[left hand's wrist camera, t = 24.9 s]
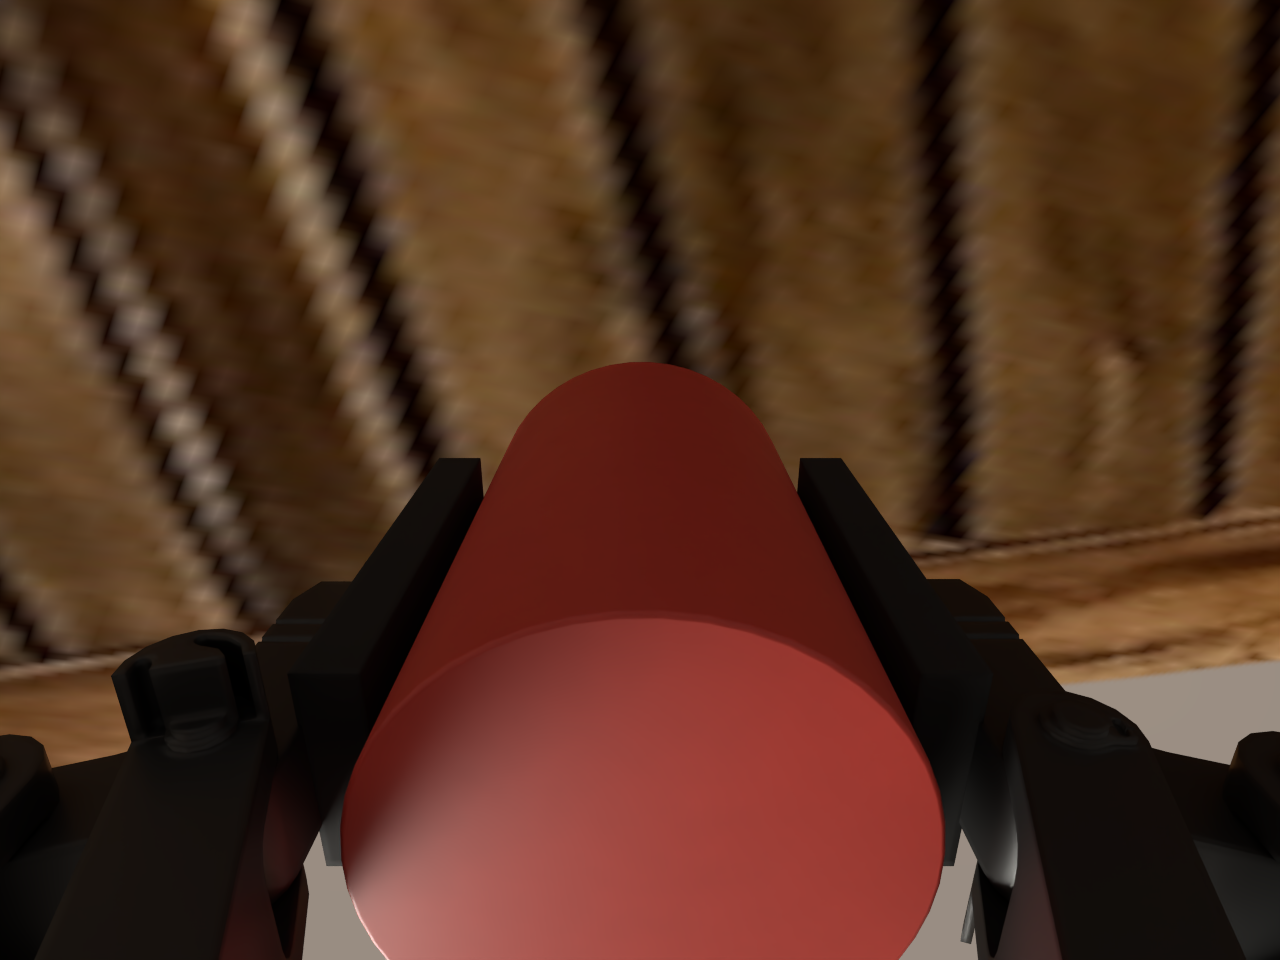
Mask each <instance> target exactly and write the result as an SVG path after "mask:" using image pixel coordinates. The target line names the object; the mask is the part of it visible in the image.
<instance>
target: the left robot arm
mask: <svg viewBox="0 0 1280 960" xmlns="http://www.w3.org/2000/svg"><path fill="white" fill-rule="evenodd" d="M797 494H798V496H799V498H800V500H801V502H802V504H803V506H804V508H805V510H806V512H807V514H808V516H809V518H810V520H811V522H812V524H813V526H814V528H815V530H816V532H817V534H818V536H819V538H820V540H821V542H822V544H823V546H824V548H825V550H826V552H827V554H828V556H829V558H830V560H831V562H832V565H833V567H834V569H835V571H836V573H837V575H838V577H839V579H840V581H841V583H842V585H843V587H844V589H845V591H846V593H847V595H848V597H849V599H850V601H851V603H852V605H853V607H854V609H855V611H856V613H857V615H858V617H859V619H860V621H861V623H862V625H863V627H864V629H865V631H866V633H867V635H868V638H869V640H870V642H871V644H872V646H873V648H874V650H875V652H876V654H877V656H878V658H879V660H880V662H881V664H882V666H883V668H884V670H885V672H886V674H887V676H888V678H889V680H890V682H891V684H892V686H893V688H894V690H895V692H896V694H897V696H898V698H899V700H900V702H901V704H902V706H903V708H904V711H905V713H906V715H907V717H908V719H909V721H910V723H911V725H912V727H913V729H914V731H915V733H916V735H917V737H918V739H919V741H920V743H921V745H922V747H923V749H924V751H925V753H926V755H927V757H928V759H929V761H930V764H931V767H932V770H933V772H934V775H935V778H936V781H937V783H938V786H939V789H940V793H941V798H942V804H943V810H944V816H945V857H944V863H943V866H954V863H955V858H956V853H957V848H958V843H959V839H960V833H961V829H963V831H964V834H965V836H966V837H967V839H968V842H969V844H970V846H971V848H972V850H973V852H974V854H975V856H976V858H977V865H976V870H975V874H974V878H973V883H972V888H971V892H970V897H969V901H968V906H967V910H966V915H965V919H964V924H963V930H962V936H961V942H965V943H969V944H971V942H972V937H973V933H974V928H975V934H976V944H977V953H978V960H1280V732H1275V731H1269V732H1259V733H1251V734H1249V735H1248V736H1246V737H1245V738H1243V739H1242V740H1241V741H1239V742H1238V745H1237V748H1236V750H1235V753H1234V756H1233V759H1232V761H1231V764H1230V765H1227V764H1222V763H1217V762H1213V761H1208V760H1203V759H1198V758H1193V757H1189V756H1184V755H1179V754H1174V753H1169V752H1165V751H1161V750H1158V749H1154V748H1152V747H1151V745H1150V743H1149V741H1148V740H1147V738H1146V737H1145V736H1144V734H1143V733H1142V732H1141V730H1140V729H1139V728H1138V726H1137V725H1136V724H1135V723H1133V722H1132V721H1131V720H1129V719H1128V718H1127V717H1125V716H1124V715H1123V714H1121V713H1120V712H1119V711H1117V710H1116V709H1114V708H1111V707H1109V706H1107V705H1105V704H1103V703H1101V702H1099V701H1096V700H1094V699H1092V698H1089V697H1085V696H1081V695H1078V694H1074V693H1070V692H1066V691H1065V690H1064V689H1063V688H1062V686H1061V685H1060V684H1059V683H1058V682H1057V680H1056V679H1055V678H1054V677H1053V675H1052V674H1051V673H1050V672H1049V671H1048V669H1047V668H1046V667H1045V666H1044V665H1043V663H1042V662H1041V661H1040V660H1039V658H1038V657H1037V656H1036V655H1035V654H1034V652H1033V651H1032V650H1031V649H1030V647H1029V646H1028V645H1027V644H1026V643H1025V641H1024V640H1023V639H1019V634H1018V633H1017V632H1016V630H1015V629H1014V628H1013V627H1012V626H1011V624H1010V623H1009V622H1005V617H1004V616H1003V615H1002V613H1001V612H1000V611H999V610H998V609H997V607H996V606H995V605H994V604H993V602H992V601H991V600H990V599H989V598H988V597H987V596H986V595H984V594H982V593H981V592H979V591H978V590H976V589H974V588H973V587H971V586H970V585H968V584H966V583H965V582H963V581H962V580H960V579H926V578H925V576H924V575H923V573H922V572H921V570H920V569H919V568H918V566H917V565H916V563H915V562H914V561H913V559H912V558H911V556H910V555H909V554H908V552H907V551H906V549H905V548H904V546H903V545H902V544H901V542H900V541H899V539H898V538H897V537H896V535H895V534H894V532H893V531H892V529H891V528H890V527H889V525H888V524H887V522H886V521H885V520H884V518H883V517H882V515H881V514H880V512H879V511H878V510H877V508H876V507H875V505H874V504H873V503H872V501H871V500H870V498H869V497H868V496H867V494H866V493H865V491H864V490H863V488H862V487H861V486H860V484H859V483H858V481H857V480H856V479H855V477H854V476H853V474H852V473H851V471H850V470H849V469H848V467H847V466H846V464H845V463H844V462H843V460H842V459H841V458H800V466H799V478H798V490H797ZM483 498H484V496H483V484H482V472H481V460H480V458H439V459H438V461H437V462H436V464H435V465H434V466H433V468H432V469H431V471H430V472H429V474H428V475H427V476H426V478H425V479H424V481H423V482H422V483H421V485H420V486H419V488H418V489H417V491H416V492H415V493H414V495H413V496H412V498H411V499H410V500H409V502H408V503H407V505H406V506H405V508H404V509H403V510H402V512H401V513H400V515H399V516H398V517H397V519H396V520H395V522H394V523H393V525H392V526H391V527H390V529H389V530H388V532H387V533H386V534H385V536H384V537H383V539H382V540H381V541H380V543H379V544H378V546H377V547H376V549H375V550H374V551H373V553H372V554H371V556H370V557H369V558H368V560H367V561H366V563H365V564H364V566H363V567H362V568H361V570H360V571H359V573H358V574H357V575H356V577H355V578H354V580H353V581H352V582H320V583H318V584H317V585H315V586H314V587H312V588H310V589H309V590H307V591H306V592H304V593H302V594H301V595H299V596H298V597H296V598H294V599H293V600H292V601H291V603H290V604H289V605H288V606H287V607H286V609H285V610H284V611H283V612H282V614H281V615H280V616H279V617H278V619H277V620H276V624H273V625H272V626H271V627H270V628H269V630H268V631H267V632H266V633H265V634H264V636H263V637H262V642H258V643H257V644H256V645H255V643H254V640H252V639H251V638H250V637H248V636H247V635H245V634H244V633H243V632H238V631H233V630H227V629H210V630H197V631H193V632H189V633H184V634H180V635H176V636H172V637H169V638H167V639H164V640H162V641H159V642H157V643H155V644H152V645H150V646H147V647H145V648H144V649H142V650H141V651H139V652H137V653H136V654H134V655H133V656H131V657H130V658H128V659H126V660H125V661H124V662H123V663H122V664H121V665H120V666H119V668H118V669H117V670H116V671H115V672H114V673H113V674H112V675H111V677H112V680H113V684H114V687H115V690H116V693H117V697H118V700H119V703H120V706H121V710H122V713H123V716H124V719H125V723H126V726H127V729H128V732H129V736H130V739H131V744H130V747H129V749H128V751H127V752H124V753H120V754H117V755H112V756H108V757H103V758H98V759H93V760H88V761H84V762H79V763H74V764H69V765H64V766H60V767H55V768H51V765H50V762H49V760H48V757H47V754H46V751H45V749H44V746H43V745H42V744H41V743H39V742H38V741H37V740H35V739H34V738H32V737H30V736H20V735H10V734H9V735H2V736H0V960H302V955H303V945H304V936H305V927H306V917H307V908H308V899H309V891H308V885H307V879H306V874H305V869H304V865H303V863H304V861H305V859H306V857H307V855H308V853H309V851H310V849H311V847H312V845H313V842H314V840H315V838H316V836H317V834H318V832H319V831H320V836H321V841H322V846H323V851H324V856H325V860H326V865H327V866H342V861H341V840H340V823H341V816H342V809H343V802H344V796H345V793H346V790H347V787H348V784H349V781H350V778H351V775H352V772H353V769H354V766H355V764H356V762H357V760H358V757H359V755H360V753H361V751H362V749H363V747H364V745H365V743H366V741H367V739H368V737H369V735H370V733H371V731H372V728H373V726H374V724H375V722H376V720H377V718H378V716H379V714H380V712H381V710H382V708H383V706H384V704H385V701H386V699H387V697H388V695H389V693H390V691H391V689H392V687H393V685H394V683H395V681H396V679H397V677H398V675H399V672H400V670H401V668H402V666H403V664H404V662H405V660H406V658H407V656H408V654H409V652H410V650H411V648H412V646H413V643H414V641H415V639H416V637H417V635H418V633H419V631H420V629H421V627H422V625H423V623H424V621H425V619H426V617H427V614H428V612H429V610H430V608H431V606H432V604H433V602H434V600H435V598H436V596H437V594H438V592H439V590H440V588H441V585H442V583H443V581H444V579H445V577H446V575H447V573H448V571H449V569H450V567H451V565H452V563H453V561H454V559H455V556H456V554H457V552H458V550H459V548H460V546H461V544H462V542H463V540H464V538H465V536H466V534H467V532H468V530H469V527H470V525H471V523H472V521H473V519H474V517H475V515H476V513H477V511H478V509H479V507H480V505H481V503H482V501H483Z"/></svg>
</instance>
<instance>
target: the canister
mask: <svg viewBox="0 0 1280 960" xmlns="http://www.w3.org/2000/svg"><path fill="white" fill-rule="evenodd" d="M340 840H341V861H342V866H343V870H344V875H345V880H346V885H347V889H348V892H349V894H350V897H351V899H352V902H353V904H354V907H355V910H356V912H357V915H358V917H359V919H360V920H361V922H362V924H363V925H364V927H365V929H366V931H367V932H368V934H369V936H370V937H371V939H372V941H373V943H374V944H375V945H376V946H377V948H378V949H379V950H380V951H381V953H382V954H383V955H384V956H385V958H386V959H387V960H899V958H900V957H901V956H902V954H903V953H904V952H905V950H906V949H907V948H908V946H909V945H910V944H911V943H912V941H913V940H914V939H915V937H916V935H917V933H918V932H919V930H920V928H921V926H922V924H923V923H924V921H925V919H926V917H927V915H928V914H929V912H930V909H931V906H932V903H933V901H934V898H935V895H936V893H937V890H938V887H939V884H940V879H941V874H942V868H943V863H944V857H945V816H944V810H943V804H942V798H941V793H940V789H939V786H938V783H937V781H936V778H935V775H934V772H933V770H932V767H931V764H930V761H929V759H928V757H927V755H926V753H925V751H924V749H923V747H922V745H921V743H920V741H919V739H918V737H917V735H916V733H915V731H914V729H913V727H912V725H911V723H910V721H909V719H908V717H907V715H906V713H905V711H904V708H903V706H902V704H901V702H900V700H899V698H898V696H897V694H896V692H895V690H894V688H893V686H892V684H891V682H890V680H889V678H888V676H887V674H886V672H885V670H884V668H883V666H882V664H881V662H880V660H879V658H878V656H877V654H876V652H875V650H874V648H873V646H872V644H871V642H870V640H869V638H868V635H867V633H866V631H865V629H864V627H863V625H862V623H861V621H860V619H859V617H858V615H857V613H856V611H855V609H854V607H853V605H852V603H851V601H850V599H849V597H848V595H847V593H846V591H845V589H844V587H843V585H842V583H841V581H840V579H839V577H838V575H837V573H836V571H835V569H834V567H833V565H832V562H831V560H830V558H829V556H828V554H827V552H826V550H825V548H824V546H823V544H822V542H821V540H820V538H819V536H818V534H817V532H816V530H815V528H814V526H813V524H812V522H811V520H810V518H809V516H808V514H807V512H806V510H805V508H804V506H803V504H802V502H801V500H800V498H799V496H798V494H797V492H796V490H795V487H794V485H793V483H792V481H791V479H790V477H789V475H788V473H787V471H786V469H785V467H784V465H783V463H782V461H781V459H780V457H779V455H778V453H777V451H776V449H775V447H774V445H773V443H772V441H771V439H770V437H769V435H768V434H767V432H766V430H765V428H764V426H763V425H762V423H761V422H760V421H759V419H758V418H757V417H756V416H755V414H754V413H753V412H752V410H751V409H750V408H749V407H748V406H747V405H746V404H745V403H744V402H743V401H742V400H741V399H740V398H739V397H737V396H736V395H735V394H733V393H732V392H731V391H729V390H728V389H727V388H725V387H724V386H723V385H721V384H719V383H717V382H715V381H714V380H712V379H710V378H708V377H706V376H704V375H701V374H699V373H696V372H694V371H691V370H689V369H685V368H681V367H677V366H673V365H669V364H661V363H653V362H629V363H622V364H615V365H609V366H605V367H602V368H598V369H594V370H591V371H589V372H586V373H584V374H581V375H579V376H577V377H574V378H572V379H571V380H569V381H567V382H566V383H564V384H562V385H561V386H559V387H557V388H556V389H555V390H553V391H552V392H551V393H549V394H548V395H547V396H546V397H544V398H543V399H542V400H541V401H540V402H539V403H538V404H537V405H536V406H535V407H534V408H533V409H532V410H531V411H530V412H529V414H528V415H527V416H526V418H525V419H524V421H523V422H522V423H521V425H520V426H519V427H518V429H517V431H516V433H515V435H514V437H513V439H512V441H511V443H510V445H509V447H508V449H507V451H506V453H505V455H504V457H503V459H502V461H501V463H500V465H499V467H498V469H497V471H496V474H495V476H494V478H493V480H492V482H491V484H490V486H489V488H488V490H487V492H486V494H485V496H484V498H483V501H482V503H481V505H480V507H479V509H478V511H477V513H476V515H475V517H474V519H473V521H472V523H471V525H470V527H469V530H468V532H467V534H466V536H465V538H464V540H463V542H462V544H461V546H460V548H459V550H458V552H457V554H456V556H455V559H454V561H453V563H452V565H451V567H450V569H449V571H448V573H447V575H446V577H445V579H444V581H443V583H442V585H441V588H440V590H439V592H438V594H437V596H436V598H435V600H434V602H433V604H432V606H431V608H430V610H429V612H428V614H427V617H426V619H425V621H424V623H423V625H422V627H421V629H420V631H419V633H418V635H417V637H416V639H415V641H414V643H413V646H412V648H411V650H410V652H409V654H408V656H407V658H406V660H405V662H404V664H403V666H402V668H401V670H400V672H399V675H398V677H397V679H396V681H395V683H394V685H393V687H392V689H391V691H390V693H389V695H388V697H387V699H386V701H385V704H384V706H383V708H382V710H381V712H380V714H379V716H378V718H377V720H376V722H375V724H374V726H373V728H372V731H371V733H370V735H369V737H368V739H367V741H366V743H365V745H364V747H363V749H362V751H361V753H360V755H359V757H358V760H357V762H356V764H355V766H354V769H353V772H352V775H351V778H350V781H349V784H348V787H347V790H346V793H345V796H344V802H343V809H342V816H341V823H340Z"/></svg>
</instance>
